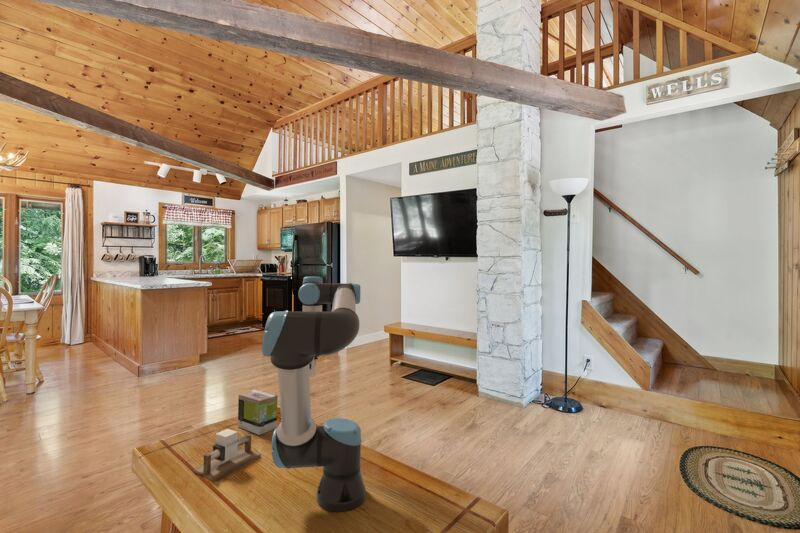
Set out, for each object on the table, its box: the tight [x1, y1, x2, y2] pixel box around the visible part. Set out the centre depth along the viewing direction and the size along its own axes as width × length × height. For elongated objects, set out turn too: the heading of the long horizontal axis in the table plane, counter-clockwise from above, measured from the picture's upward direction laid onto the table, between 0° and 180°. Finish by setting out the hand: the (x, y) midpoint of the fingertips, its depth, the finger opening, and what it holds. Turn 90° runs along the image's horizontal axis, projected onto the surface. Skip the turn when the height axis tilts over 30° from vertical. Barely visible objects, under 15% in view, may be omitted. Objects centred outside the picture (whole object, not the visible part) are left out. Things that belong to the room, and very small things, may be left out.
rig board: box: [192, 433, 262, 482], centre depth 138 cm, size 12×19×7 cm, turn 154°
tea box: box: [237, 388, 279, 436], centre depth 169 cm, size 15×10×15 cm, turn 58°
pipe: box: [208, 435, 249, 460], centre depth 138 cm, size 3×16×3 cm, turn 154°
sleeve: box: [214, 428, 239, 462], centre depth 137 cm, size 5×5×9 cm
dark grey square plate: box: [212, 444, 225, 461], centre depth 134 cm, size 5×1×5 cm, turn 64°
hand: (310, 376), depth 149 cm, fingers closed
